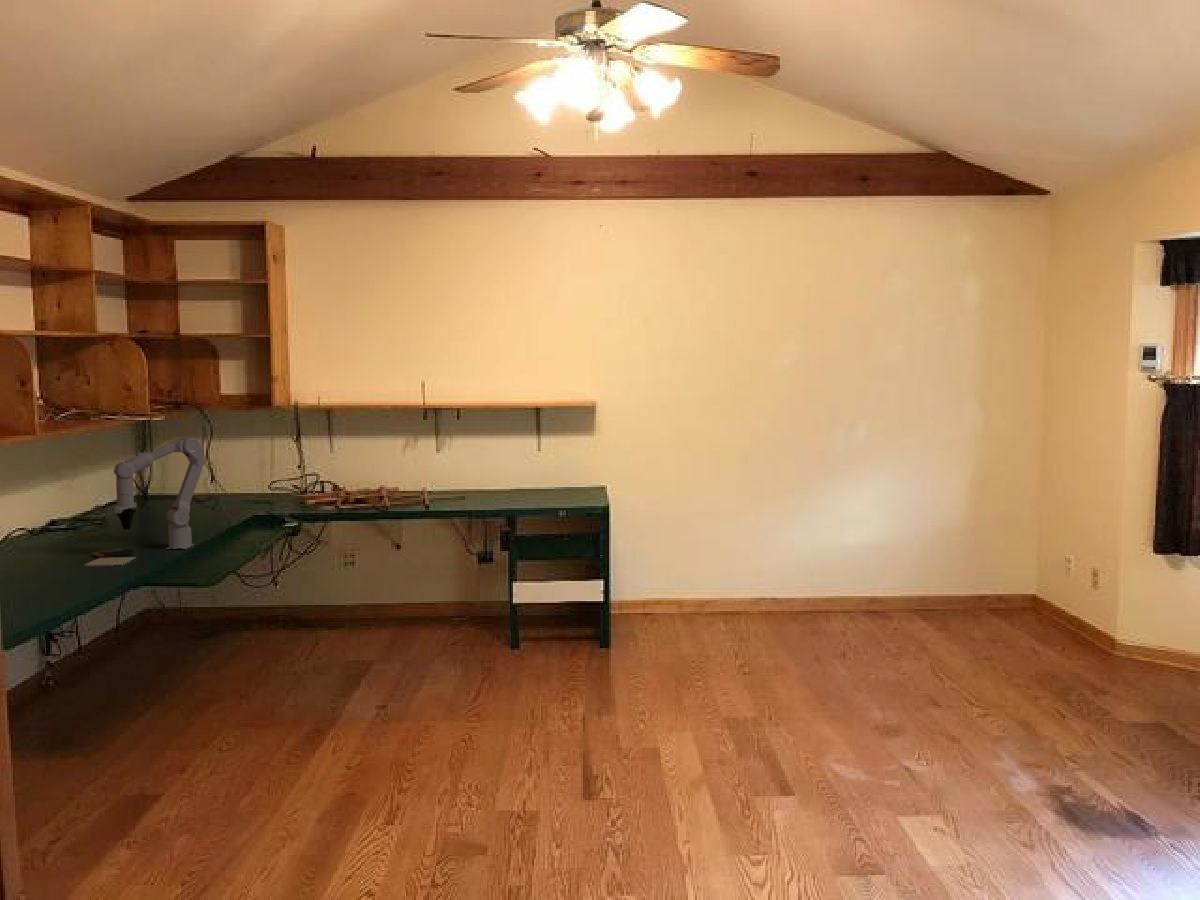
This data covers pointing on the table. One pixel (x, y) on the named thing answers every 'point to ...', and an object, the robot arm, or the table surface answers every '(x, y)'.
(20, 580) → the table surface
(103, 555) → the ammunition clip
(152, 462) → the robot arm
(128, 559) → the mat
